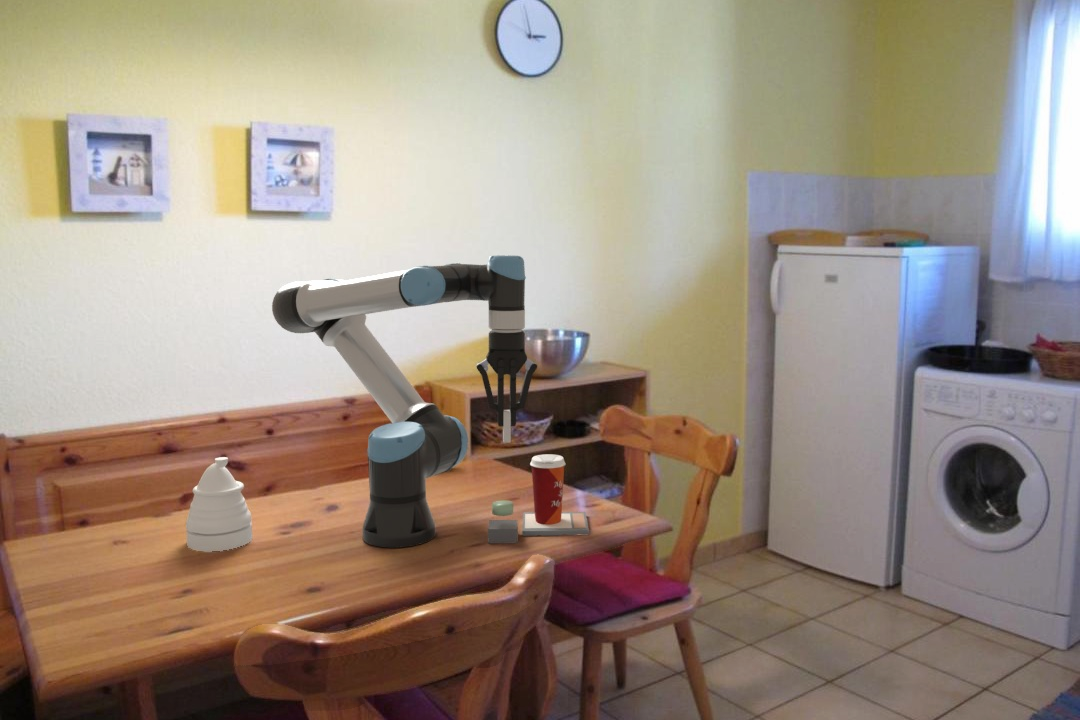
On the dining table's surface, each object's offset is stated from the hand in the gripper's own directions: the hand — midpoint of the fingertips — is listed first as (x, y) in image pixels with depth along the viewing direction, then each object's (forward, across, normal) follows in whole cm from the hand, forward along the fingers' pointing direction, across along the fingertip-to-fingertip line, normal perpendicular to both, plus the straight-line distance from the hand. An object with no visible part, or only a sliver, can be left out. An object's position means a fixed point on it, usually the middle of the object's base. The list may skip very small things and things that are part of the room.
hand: (506, 441), depth 191 cm
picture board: (+20, -11, -2) cm, 22 cm away
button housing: (+20, +1, +5) cm, 20 cm away
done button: (+14, +1, +5) cm, 15 cm away
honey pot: (+21, +60, 0) cm, 63 cm away
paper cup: (+19, -9, -2) cm, 21 cm away
